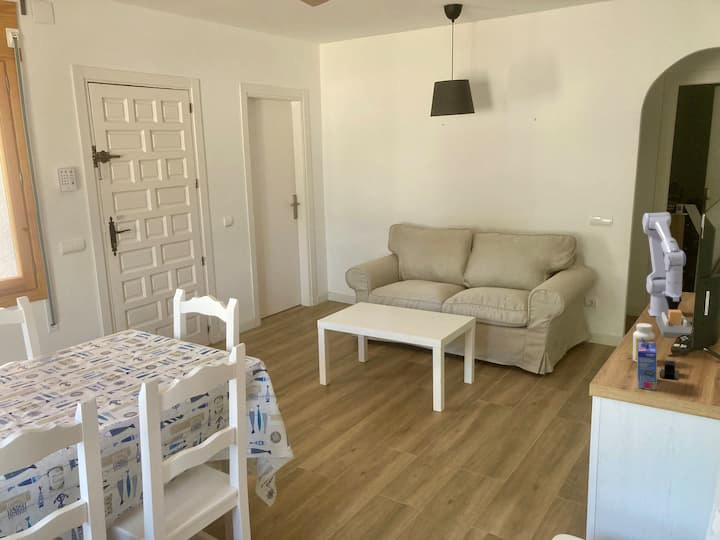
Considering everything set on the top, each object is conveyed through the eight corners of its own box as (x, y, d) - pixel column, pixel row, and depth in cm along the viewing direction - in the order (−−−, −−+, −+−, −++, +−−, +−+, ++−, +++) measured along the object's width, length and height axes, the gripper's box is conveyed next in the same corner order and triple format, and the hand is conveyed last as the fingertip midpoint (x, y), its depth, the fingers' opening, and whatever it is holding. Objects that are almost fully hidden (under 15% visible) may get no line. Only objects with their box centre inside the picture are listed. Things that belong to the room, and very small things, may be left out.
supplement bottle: (657, 364, 192) (659, 327, 189) (637, 365, 192) (638, 328, 189) (648, 357, 198) (649, 321, 196) (629, 358, 198) (629, 322, 196)
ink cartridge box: (636, 376, 183) (637, 333, 180) (655, 378, 180) (657, 334, 178) (636, 388, 174) (637, 343, 171) (657, 390, 172) (658, 344, 169)
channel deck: (655, 320, 237) (656, 311, 237) (685, 321, 234) (686, 312, 233) (663, 337, 217) (663, 327, 217) (696, 338, 213) (696, 328, 213)
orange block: (668, 321, 229) (668, 309, 228) (679, 321, 228) (679, 309, 227) (669, 324, 225) (670, 312, 224) (681, 324, 224) (681, 312, 223)
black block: (681, 384, 176) (682, 370, 175) (655, 381, 179) (655, 367, 178) (682, 370, 186) (682, 357, 185) (657, 367, 190) (657, 354, 189)
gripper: (660, 277, 236) (659, 309, 239) (665, 285, 223) (664, 319, 226) (679, 277, 234) (678, 309, 237) (685, 285, 221) (684, 319, 223)
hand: (672, 314), depth 231 cm, fingers closed
